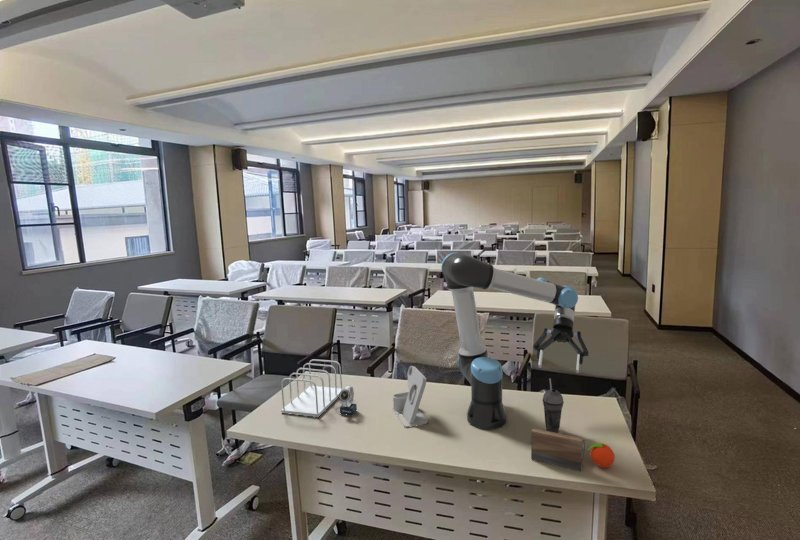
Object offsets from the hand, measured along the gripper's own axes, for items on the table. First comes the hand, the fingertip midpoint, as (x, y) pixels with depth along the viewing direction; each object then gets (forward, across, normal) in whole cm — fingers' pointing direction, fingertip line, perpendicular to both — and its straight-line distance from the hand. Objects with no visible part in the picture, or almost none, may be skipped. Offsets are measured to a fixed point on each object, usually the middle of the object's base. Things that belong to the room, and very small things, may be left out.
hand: (558, 369), depth 163 cm
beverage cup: (+22, 0, -7) cm, 23 cm away
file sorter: (+33, +96, +4) cm, 102 cm away
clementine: (+33, -16, +4) cm, 37 cm away
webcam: (+35, +77, +6) cm, 85 cm away
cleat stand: (+31, -4, +3) cm, 32 cm away
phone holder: (+29, +53, 0) cm, 61 cm away
